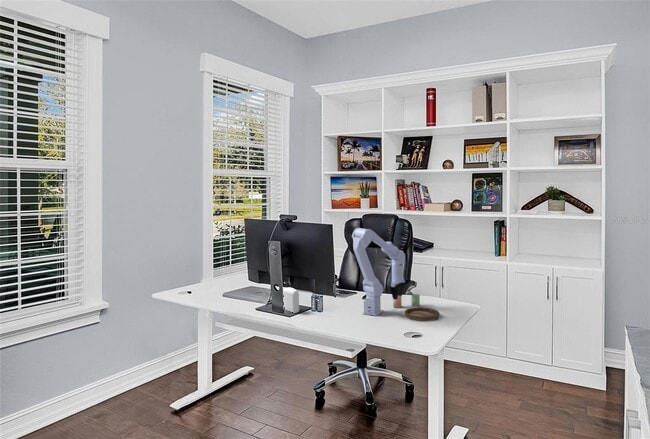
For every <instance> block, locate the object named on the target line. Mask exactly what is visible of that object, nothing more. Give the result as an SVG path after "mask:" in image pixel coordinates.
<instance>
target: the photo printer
mask: <svg viewBox="0 0 650 439" xmlns="http://www.w3.org/2000/svg"><path fill="white" fill-rule="evenodd" d="M283 295H284V297H282V298H283V300H282V302H284V305H283V308H284V307H285V310H284V311H286V310H287V311H286V312H289V311H290V313H292V312H293V313H292V314H298V313H299V312H300V294H299V291H298V290H297V289H295V288H293V287H289V286H288V287H284V288H283V291H282V296H283ZM297 312H298V313H297Z"/></svg>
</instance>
